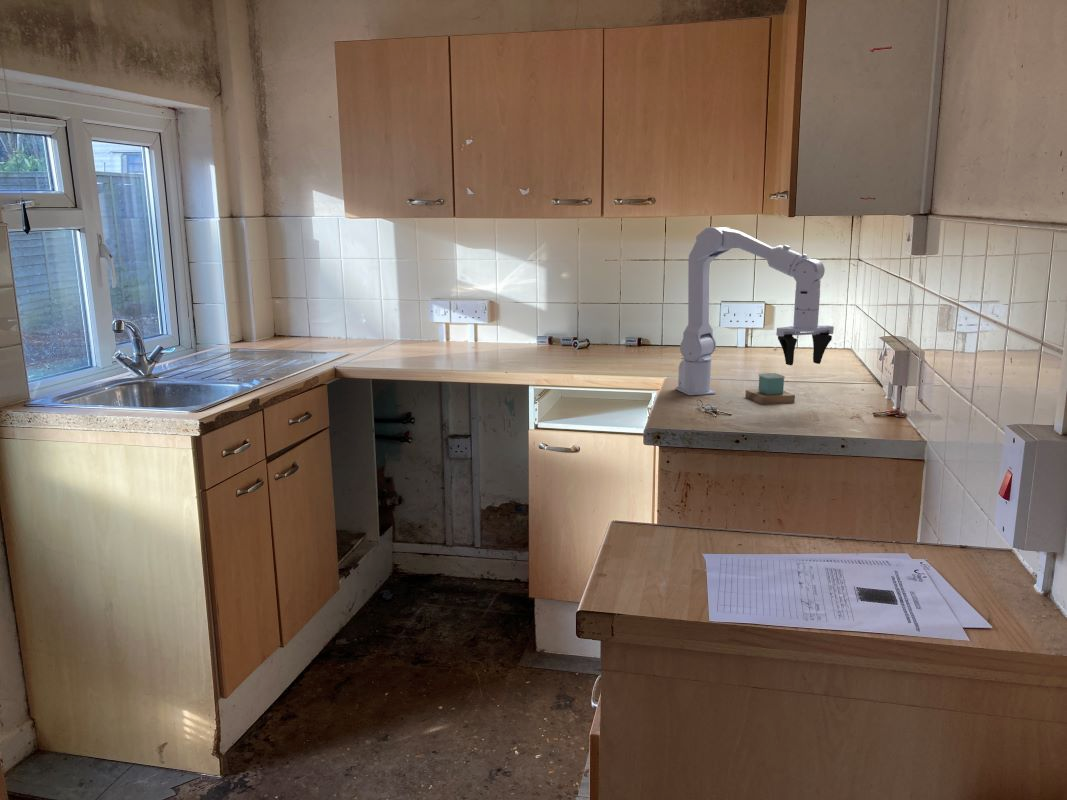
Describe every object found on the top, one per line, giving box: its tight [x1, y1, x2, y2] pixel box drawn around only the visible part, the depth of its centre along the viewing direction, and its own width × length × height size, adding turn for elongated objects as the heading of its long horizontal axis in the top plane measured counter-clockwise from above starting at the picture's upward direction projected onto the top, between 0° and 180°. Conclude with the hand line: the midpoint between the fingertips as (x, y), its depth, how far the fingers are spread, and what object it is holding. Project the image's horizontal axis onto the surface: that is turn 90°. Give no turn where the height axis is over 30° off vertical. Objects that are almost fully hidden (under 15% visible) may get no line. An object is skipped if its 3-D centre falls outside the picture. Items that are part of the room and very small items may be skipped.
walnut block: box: [745, 388, 796, 405], centre depth 214 cm, size 9×9×2 cm
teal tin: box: [758, 372, 786, 395], centre depth 213 cm, size 5×5×5 cm
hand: (803, 364), depth 205 cm, fingers open, 7 cm apart
